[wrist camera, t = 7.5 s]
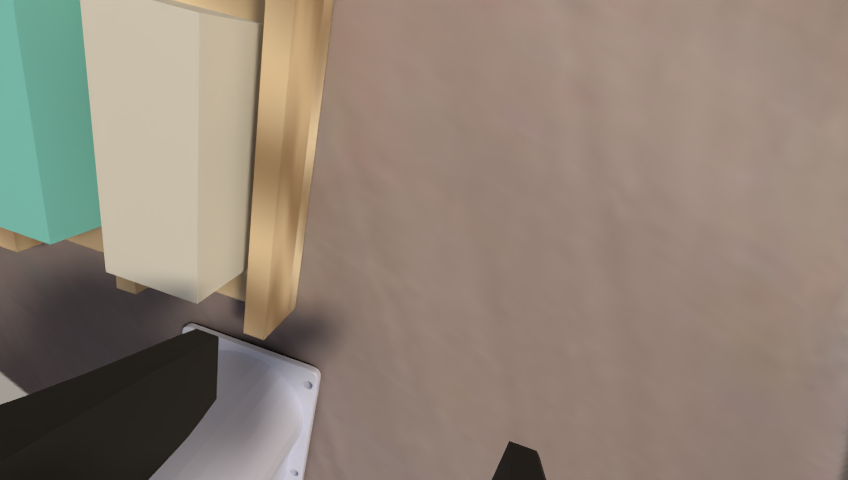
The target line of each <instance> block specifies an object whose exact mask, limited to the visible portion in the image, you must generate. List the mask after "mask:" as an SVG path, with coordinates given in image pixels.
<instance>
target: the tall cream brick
mask: <svg viewBox="0 0 848 480" xmlns="http://www.w3.org/2000/svg"><path fill="white" fill-rule="evenodd" d="M80 6H81V17H82V27H83V38H84V48H85V58H86V69H87V79H88V90H89V100H90V111H91V121H92V132H93V142H94V153H95V163H96V174H97V184H98V194H99V205H100V215H101V226H102V236H103V247H104V257H105V268H106V272H108V273H110V274H113V275H116V276H119V277H122V278H125V279H127V280H130V281H133V282H136V283H139V284H142V285H144V286H147V287H150V288H153V289H156V290H159V291H161V292H164V293H167V294H170V295H173V296H176V297H178V298H181V299H184V300H187V301H190V302H193V303H195V304H198V303H199V302H201V301H202V300H203V299H205V298H206V297H208V296H209V295H211V294H212V293H213V292H215V291H216V290H218V289H219V288H221V287H222V286H223V285H225V284H226V283H228V282H229V281H230V280H232V279H233V278H235V277H236V276H238V275H239V274H240V273H242V272H243V271H245V270H246V269H248V257H249V242H250V227H251V212H252V196H253V181H254V166H255V151H256V136H257V121H258V106H259V91H260V76H261V60H262V45H263V30H264V24H263V23H259V22H255V21H251V20H247V19H244V18H240V17H236V16H232V15H228V14H225V13H221V12H217V11H213V10H209V9H206V8H202V7H198V6H194V5H190V4H187V3H183V2H179V1H174V0H80Z"/></svg>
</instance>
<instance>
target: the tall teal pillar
mask: <svg viewBox="0 0 848 480" xmlns="http://www.w3.org/2000/svg"><path fill="white" fill-rule="evenodd" d="M0 227H1V228H4V229H7V230H10V231H13V232H16V233H19V234H21V235H24V236H27V237H30V238H33V239H36V240H39V241H41V242H44V243H47V244H50V245H51V244H53V243H56V242H59V241H62V240H64V239H67V238H70V237H73V236H76V235H78V234H81V233H84V232H87V231H89V230H92V229H95V228H98V227H101V215H100V205H99V194H98V184H97V174H96V163H95V153H94V142H93V132H92V121H91V111H90V100H89V90H88V79H87V69H86V58H85V48H84V38H83V27H82V17H81V6H80V0H0Z"/></svg>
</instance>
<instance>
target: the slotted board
mask: <svg viewBox="0 0 848 480" xmlns="http://www.w3.org/2000/svg"><path fill="white" fill-rule="evenodd" d="M174 1H179V2H183V3H187V4H190V5H194V6H198V7H202V8H206V9H209V10H213V11H217V12H221V13H225V14H228V15H232V16H236V17H240V18H244V19H247V20H251V21H255V22H259V23H263V24H264V30H263V45H262V60H261V76H260V91H259V106H258V121H257V136H256V151H255V166H254V181H253V196H252V212H251V227H250V242H249V257H248V269H246V270H245V271H243V272H242V273H240V274H239V275H238V276H236V277H235V278H233V279H232V280H230V281H229V282H228V283H226V284H225V285H223V286H222V287H221V288H219V289H218V290H216V291H215V292H218V293H221V294H224V295H227V296H230V297H233V298H235V299H238V300H241V301H244V302H245V317H244V332H243V333H245V334H248V335H250V336H253V337H256V338H259V339H262V340H265V339H266V337H267V336H268V335H269V334H270V333H271V332H272V331H273V330H274V329H275V328H276V327H277V326H278V325H279V324H280V323H281V322H282V321H283V320H284V319H285V318H286V317H287V316H288V315H289V314H290V313H291V312H292V311H293V310H294V309H295V306H296V299H297V291H298V283H299V275H300V267H301V259H302V251H303V243H304V235H305V227H306V219H307V211H308V203H309V195H310V187H311V179H312V172H313V164H314V156H315V148H316V140H317V132H318V124H319V116H320V108H321V100H322V92H323V84H324V76H325V68H326V60H327V52H328V45H329V37H330V29H331V21H332V13H333V5H334V0H174ZM65 240H68V241H71V242H74V243H77V244H80V245H83V246H85V247H88V248H91V249H94V250H97V251H100V252H103V253H104V247H103V236H102V226H101V227H98V228H95V229H92V230H89V231H87V232H84V233H81V234H78V235H76V236H73V237H70V238H67V239H65ZM42 243H44V242H41V241H39V240H36V239H33V238H30V237H27V236H24V235H21V234H19V233H16V232H13V231H10V230H7V229H4V228H1V227H0V246H1V247H3V248H6V249H9V250H12V251H15V252H19V251H22V250H25V249H28V248H31V247H33V246H36V245H39V244H42ZM116 283H117V288H119V289H121V290H124V291H127V292H130V293H133V294H135V295H136V294H138V293H139V292H141V291H143V290H145V289H147V288H148V287H147V286H144V285H142V284H139V283H136V282H133V281H130V280H127V279H125V278H122V277H119V276H116Z"/></svg>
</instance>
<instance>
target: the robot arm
mask: <svg viewBox="0 0 848 480" xmlns="http://www.w3.org/2000/svg"><path fill="white" fill-rule="evenodd" d="M320 379H321V374H320V372H319V370H318V369H317V368H315V367H314V366H311V365H308V364H305V363H302V362H300V361H297V360H294V359H291V358H288V357H286V356H283V355H280V354H277V353H274V352H272V351H269V350H266V349H263V348H261V347H258V346H255V345H252V344H249V343H247V342H244V341H241V340H238V339H235V338H233V337H230V336H227V335H224V334H222V333H219V332H216V331H213V330H210V329H208V328H205V327H202V326H199V325H196V324H193V323H190V324H188V325H187V326H185V327H184V328H183V330H182V334H181V335H179V336H176V337H174V338H171V339H169V340H167V341H164V342H162V343H159V344H157V345H155V346H152V347H150V348H147V349H145V350H143V351H140V352H138V353H135V354H133V355H131V356H128V357H126V358H123V359H121V360H118V361H116V362H113V363H111V364H109V365H106V366H104V367H101V368H99V369H96V370H94V371H91V372H89V373H86V374H84V375H81V376H78V377H76V378H73V379H70V380H67V381H65V382H62V383H59V384H57V385H54V386H51V387H49V388H46V389H43V390H41V391H38V392H35V393H32V394H30V395H27V396H25V397H22V398H19V399H16V400H13V401H10V402H7V403H4V404H1V405H0V480H303V478H304V472H305V467H306V461H307V455H308V449H309V443H310V437H311V431H312V426H313V420H314V414H315V408H316V402H317V396H318V390H319V384H320ZM308 381H309V382H311V384H310V383H309V382H308ZM492 480H546V478H545V474H544V471H543V468H542V464H541V461H540V457H539V455H538V453H537V451H535V450H533V449H530V448H527V447H524V446H521V445H519V444H516V443H513V442H510V441H509V443H508V445H507V448H506V450H505V452H504V454H503V456H502V459H501V461H500V463H499V465H498V467H497V470H496V472H495V474H494V476H493V478H492Z"/></svg>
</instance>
